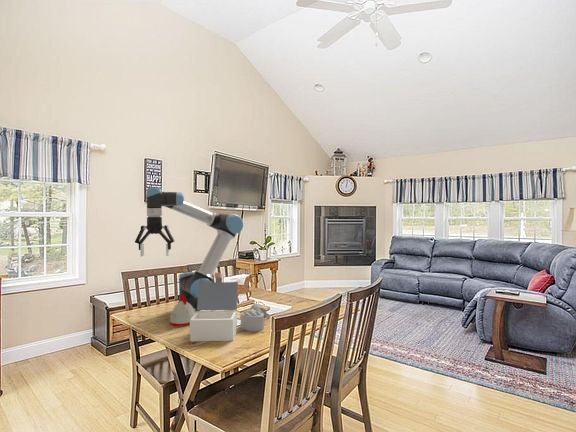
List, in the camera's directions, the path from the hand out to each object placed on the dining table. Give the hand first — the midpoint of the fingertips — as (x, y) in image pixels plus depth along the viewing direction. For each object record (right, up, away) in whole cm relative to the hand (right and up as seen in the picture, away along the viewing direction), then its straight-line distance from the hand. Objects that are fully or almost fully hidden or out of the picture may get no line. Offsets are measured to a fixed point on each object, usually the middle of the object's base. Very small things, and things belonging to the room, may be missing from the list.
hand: (155, 255), depth 187 cm
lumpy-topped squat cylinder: (+54, -37, -7) cm, 65 cm away
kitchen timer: (+15, -37, +2) cm, 40 cm away
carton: (+36, -37, -18) cm, 55 cm away
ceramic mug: (+56, -36, +8) cm, 68 cm away
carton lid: (+36, -16, -13) cm, 41 cm away
